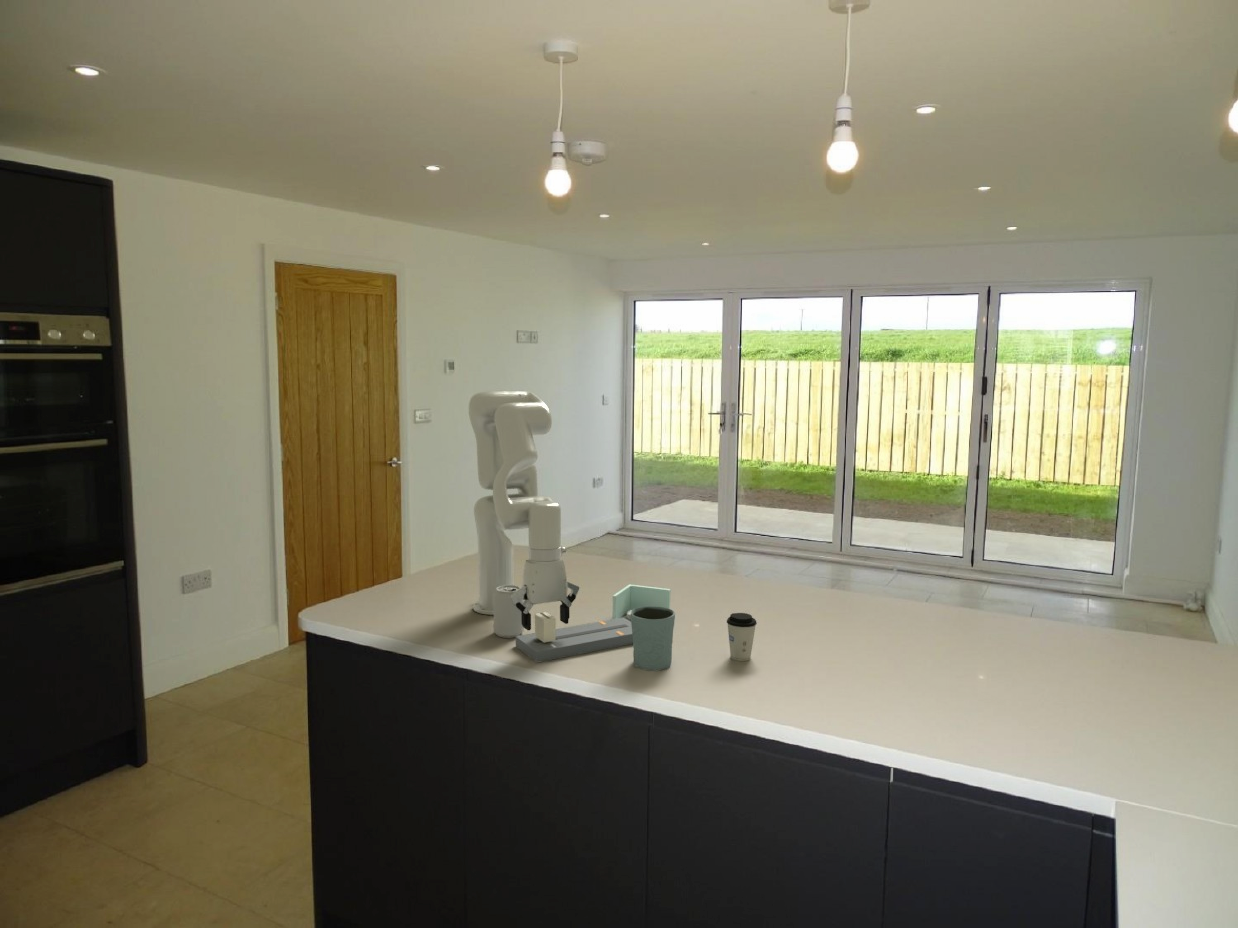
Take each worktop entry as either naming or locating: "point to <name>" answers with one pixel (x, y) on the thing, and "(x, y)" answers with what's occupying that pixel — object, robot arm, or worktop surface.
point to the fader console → (578, 639)
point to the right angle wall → (639, 599)
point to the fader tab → (545, 627)
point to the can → (507, 612)
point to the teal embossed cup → (652, 637)
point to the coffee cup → (741, 635)
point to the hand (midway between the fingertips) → (545, 625)
